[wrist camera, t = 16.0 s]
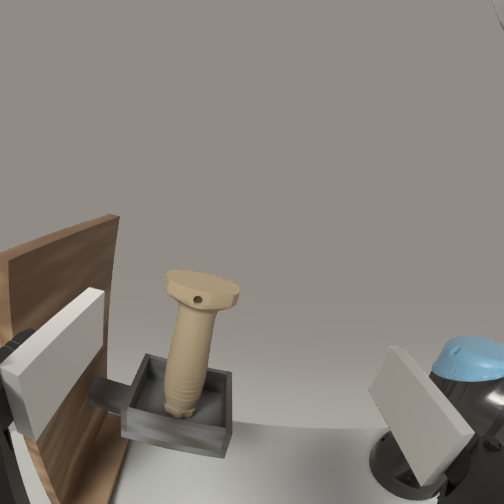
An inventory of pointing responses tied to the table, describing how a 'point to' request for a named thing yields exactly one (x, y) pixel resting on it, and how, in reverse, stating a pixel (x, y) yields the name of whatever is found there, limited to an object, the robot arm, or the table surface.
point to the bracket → (99, 372)
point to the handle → (192, 335)
